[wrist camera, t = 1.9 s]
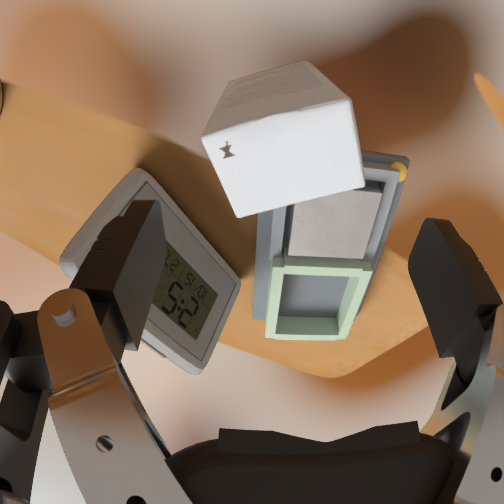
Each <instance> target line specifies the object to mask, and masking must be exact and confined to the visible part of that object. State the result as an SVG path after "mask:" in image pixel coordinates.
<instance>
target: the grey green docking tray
mask: <svg viewBox="0 0 504 504" xmlns="http://www.w3.org/2000/svg"><path fill="white" fill-rule="evenodd" d="M361 156H362V162H363V169H364V177H365V187H375V188H380V190H381V192H382V197H381V200H380V204H379V207H378V211H377V214H376V218H375V221H374V225H373V228H372V231H371V235H370V238H369V241H368V244H367V248H366V251H365V254H364V257H363V259H355V258H334V257H313V256H292V255H288V243H289V235H290V227H291V219H292V211H293V204H291V205H288V206H284V207H280V208H276V209H272V210H268V211H264V212H260V213H258V217H257V237H256V256H255V276H254V295H253V314H252V319H255V320H266V322H265V338H274V339H280V340H337V339H346V337H347V334H348V332H349V330H350V327H351V325H352V323H353V322H355V319H356V317H357V315H358V312H359V310H360V307H361V305H362V302H363V300H364V298H365V295H366V292H367V290H368V287H369V285H370V282H371V280H372V277H373V274H374V272H375V269H376V266H377V264H378V261H379V258H380V255H381V252H382V250H383V247H384V244H385V241H386V238H387V235H388V232H389V229H390V226H391V223H392V220H393V216H394V214H395V210H396V207H397V203H398V201H399V197H400V194H401V191H402V187H403V184H404V180H405V178H406V177H407V174H408V171H407V169H408V166H409V159H408V158H407V157H405V156H398V155H392V154H385V153H378V152H371V151H363V150H361Z"/></svg>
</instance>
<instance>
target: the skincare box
mask: <svg viewBox="0 0 504 504" xmlns="http://www.w3.org/2000/svg"><path fill="white" fill-rule="evenodd" d="M201 141H202V143H203V145H204V147H205V149H206V151H207V154H208V156H209V158H210V160H211V162H212V164H213V166H214V169H215V171H216V173H217V175H218V177H219V180H220V182H221V184H222V186H223V188H224V191H225V193H226V195H227V197H228V199H229V202H230V204H231V206H232V208H233V210H234V213H235V215H236V217H237V218H242V217H245V216H249V215H253V214H257V213H260V212H264V211H268V210H272V209H276V208H280V207H284V206H288V205H291V204H295V203H299V202H303V201H307V200H311V199H315V198H319V197H323V196H327V195H331V194H335V193H340V192H344V191H348V190H353V189H357V188H363V187H365V177H364V169H363V162H362V156H361V149H360V143H359V137H358V131H357V125H356V120H355V115H354V111H353V105H352V101H351V99H350V98H349V97H348V96H347V95H346V94H345V93H344V92H342V91H341V90H340V89H339V88H338V87H337V86H336V85H335V84H334V83H332V82H331V81H330V80H329V79H328V78H327V77H326V76H325V75H324V74H322V73H321V72H320V71H319V70H318V69H317V68H316V67H315V66H314V65H312V64H311V63H310V62H309V61H301V62H297V63H293V64H289V65H285V66H281V67H277V68H273V69H269V70H266V71H262V72H259V73H255V74H252V75H249V76H246V77H242V78H239V79H236V80H232V81H229V82H228V84H227V86H226V88H225V90H224V92H223V94H222V96H221V98H220V100H219V102H218V104H217V106H216V108H215V110H214V112H213V114H212V117H211V118H210V120H209V122H208V124H207V127H206V128H205V130H204V132H203V135H202V136H201Z"/></svg>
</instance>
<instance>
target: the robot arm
mask: <svg viewBox="0 0 504 504" xmlns="http://www.w3.org/2000/svg"><path fill="white" fill-rule="evenodd" d="M1 106H2V85H1V81H0V112H1ZM96 239H97V240H96V241H95V242H94V243H93V245H92V247H91V251H89V252H88V254H87V256H86V257H85V259H84V261H83V263H82V264H81V266H80V268H79V270H78V272H77V274H76V275H75V277H74V279H73V281H72V283H71V285H70V287H69V288H68V289H63V290H60V291H58V292H55V293H53V294H52V295H50V296H49V297H48V298H47V299H46V300H45V301H44V302H43V304H42V305H41V307H40V309H39V310H38V311H32V312H26V313H19V314H14V313H13V311H12V310H11V308H10V307H9V305H8V304H7V303H6V302H4V301H1V300H0V385H1V381H2V379H3V376H4V375H5V376H6V377H7V378H8V381H7V384H6V387H5V390H4V393H3V396H2V399H1V402H0V504H30V497H31V490H32V483H33V477H34V471H35V466H36V461H37V456H38V450H39V445H40V441H41V437H42V432H43V428H44V423H45V419H46V415H47V412H48V408H49V409H50V413H51V416H52V419H53V422H54V425H55V428H56V431H57V434H58V437H59V440H60V443H61V445H62V448H63V450H64V453H65V456H66V458H67V461H68V463H69V466H70V468H71V471H72V473H73V475H74V478H75V480H76V482H77V484H78V486H79V489H80V491H81V493H82V495H83V497H84V499H85V501H86V503H87V504H504V304H503V302H502V300H501V298H500V296H499V294H498V293H497V290H496V289H495V287H494V285H493V283H492V281H491V280H490V278H489V276H488V274H487V273H486V271H484V267H483V266H482V264H481V262H480V261H478V257H477V256H476V255H475V253H474V251H473V249H472V248H471V247H470V246H469V245H468V244H467V243H466V242H465V241H464V240H463V239H462V238H461V237H460V236H459V234H458V233H457V231H456V229H455V228H454V226H453V225H452V223H451V222H450V221H449V220H445V219H435V218H427V219H425V220H424V222H423V224H422V226H421V229H420V231H419V234H418V236H417V239H416V241H415V244H414V246H413V249H412V251H411V253H410V256H409V261H408V270H409V275H410V277H411V280H412V282H413V285H414V287H415V290H416V292H417V295H418V297H419V300H420V303H421V305H422V308H423V311H424V313H425V316H426V319H427V322H428V324H429V327H430V330H431V333H432V336H433V339H434V342H435V345H436V348H437V351H438V354H439V357H440V358H445V357H454V358H455V362H454V363H453V365H452V366H451V368H450V370H449V373H448V376H447V378H446V381H445V384H444V387H443V389H442V392H441V394H440V397H439V399H438V402H437V404H436V407H435V409H434V411H433V414H432V416H431V417H430V419H429V420H428V422H427V423H426V424H425V426H424V427H423V428H422V429H421V431H420V432H419V428H418V422H417V421H412V422H406V423H398V424H391V425H383V426H375V427H372V428H369V429H367V430H364V431H361V432H358V433H355V434H353V435H350V436H347V437H344V438H341V439H338V440H334V441H331V442H320V441H314V440H310V439H305V438H300V437H296V436H291V435H287V434H283V433H279V432H275V431H259V430H238V429H223V428H220V429H219V438H218V439H214V440H208V441H204V442H201V443H197V444H194V445H192V446H189V447H187V448H184V449H182V450H181V451H178V452H176V453H174V454H173V455H172V454H171V452H170V450H169V449H168V447H167V445H166V444H165V442H164V441H163V439H162V437H161V436H160V434H159V432H158V431H157V429H156V428H155V426H154V424H153V423H152V421H151V419H150V418H149V416H148V414H147V413H146V410H145V409H144V407H143V405H142V403H141V401H140V399H139V397H138V395H137V394H136V391H135V389H134V388H133V385H132V383H131V382H130V380H129V377H128V376H127V373H126V371H125V369H124V367H123V365H122V363H121V358H122V355H123V352H124V349H125V350H132V351H138V348H139V344H140V341H141V337H142V334H143V330H144V327H145V324H146V320H147V317H148V314H149V310H150V307H151V304H152V301H153V297H154V294H155V291H156V288H157V285H158V282H159V279H160V276H161V273H162V270H163V267H164V264H165V260H166V252H167V244H166V237H165V231H164V224H163V218H162V211H161V205H160V202H159V201H158V200H133V201H132V202H131V203H130V205H129V206H128V208H127V210H126V212H125V213H124V215H123V216H116V217H115V218H113V219H112V220H111V221H110V222H109V223H107V224H106V225H105V226H104V227H103V228H102V230H101V232H100V233H99V235H98V237H97V238H96ZM53 391H54V392H53Z"/></svg>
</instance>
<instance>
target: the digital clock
mask: <svg viewBox="0 0 504 504" xmlns="http://www.w3.org/2000/svg"><path fill="white" fill-rule="evenodd" d="M133 200H158V201H159V202H160V205H161V211H162V218H163V224H164V231H165V237H166V244H167V252H166V260H165V264H164V267H163V270H162V273H161V276H160V279H159V282H158V285H157V288H156V291H155V294H154V297H153V301H152V304H151V307H150V310H149V314H148V317H147V320H146V324H145V327H144V330H143V334H142V337H141V342H142V343H143V344H145V345H146V346H147V347H149V348H150V349H151V350H153V351H154V352H156V353H157V354H159V355H160V356H161V357H162V358H167V359H169V360H170V361H171V362H173V363H174V364H176V365H177V366H178V367H180V368H181V369H183V370H184V371H186V372H188V373H190V374H193V375H199V374H200V373H201V372H202V371H203V369H204V368H205V367H206V365H207V363H208V361H209V359H210V357H211V355H212V352H213V350H214V348H215V346H216V343H217V341H218V339H219V337H220V334H221V332H222V330H223V327H224V325H225V323H226V321H227V318H228V316H229V314H230V311H231V309H232V307H233V305H234V302H235V300H236V298H237V296H238V293H239V291H240V287H241V281H240V279H239V278H238V276H237V275H236V274H235V273H234V271H233V270H232V269H231V268H230V267H229V265H228V264H227V263H226V262H225V261H224V260H223V258H222V257H221V256H220V255H219V254H218V253H217V251H216V250H215V249H214V248H213V247H212V246H211V245H210V243H209V242H208V241H207V240H206V239H205V238H204V236H203V235H202V234H201V233H200V232H199V231H198V229H197V228H196V227H195V226H194V225H193V224H192V222H191V221H190V220H189V219H188V218H187V217H186V215H185V214H184V213H183V212H182V211H181V209H180V208H179V207H178V206H177V205H176V204H175V202H174V201H173V200H172V199H171V198H170V196H169V195H168V194H167V193H166V192H165V191H164V189H163V188H162V187H161V186H160V185H159V184H158V182H157V181H156V180H155V179H154V178H153V177H152V176H151V175H150V174H149V173H147V172H146V171H144V170H143V169H141V168H134V169H132V170H131V171H130V172H129V173H128V174H127V175H125V176H124V178H123V179H122V180H121V181H120V182H119V183H118V184H117V185H116V186H115V188H114V189H113V190H112V191H111V192H110V193H109V194H108V196H107V197H106V198H105V199H104V200H103V201H102V203H101V204H100V205H99V206H98V207H97V209H96V210H95V211H94V212H93V213H92V215H91V216H90V217H89V218H88V219H87V221H86V222H85V223H84V224H83V226H82V227H81V228H80V229H79V231H78V232H77V233H76V234H75V236H74V237H73V238H72V240H71V241H70V242H69V244H68V245H67V247H66V248H65V249H64V251H63V253H62V254H61V256H60V259H59V265H60V268H61V270H62V271H63V273H64V274H65V275H66V276H67V277H68V278H69V279H70V280H71V281H73V279H74V277H75V275H76V274H77V272H78V270H79V268H80V266H81V264H82V263H83V261H84V259H85V257H86V256H87V254H88V252H89V251H91V247H92V245H93V243H94V242H95V241H96V240H97V239H96V238H97V237H98V235H99V233H100V232H101V230H102V228H103V227H104V226H105V225H106V224H107V223H109V222H110V221H111V220H112V219H113V218H115V217H116V216H123V215H124V213H125V212H126V210H127V208H128V206H129V205H130V203H131V202H132V201H133Z"/></svg>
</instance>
